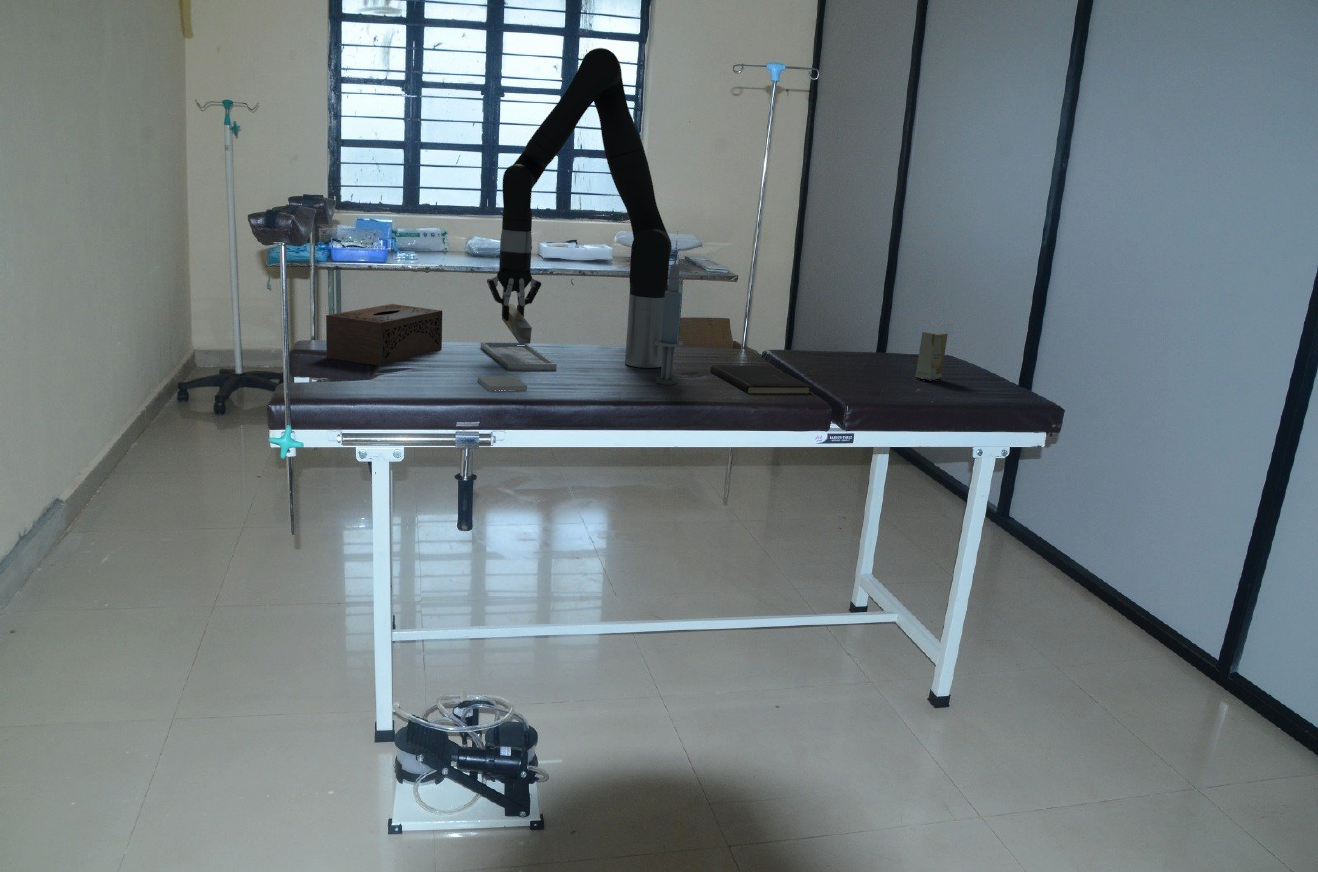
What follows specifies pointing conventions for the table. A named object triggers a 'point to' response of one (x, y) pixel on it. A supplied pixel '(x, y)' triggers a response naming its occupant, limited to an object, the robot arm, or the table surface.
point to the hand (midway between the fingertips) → (512, 320)
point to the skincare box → (931, 355)
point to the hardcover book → (759, 379)
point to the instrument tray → (517, 356)
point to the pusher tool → (518, 325)
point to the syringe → (670, 325)
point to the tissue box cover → (383, 334)
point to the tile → (501, 383)
